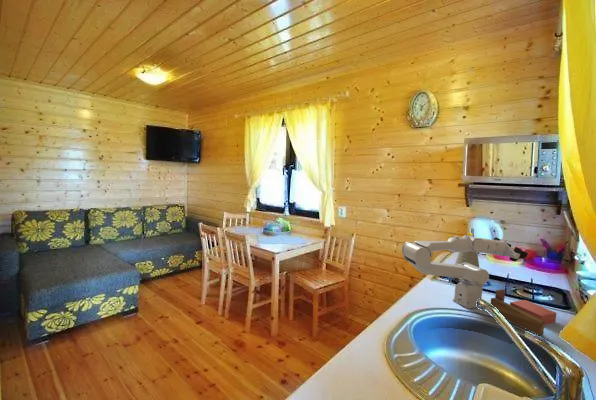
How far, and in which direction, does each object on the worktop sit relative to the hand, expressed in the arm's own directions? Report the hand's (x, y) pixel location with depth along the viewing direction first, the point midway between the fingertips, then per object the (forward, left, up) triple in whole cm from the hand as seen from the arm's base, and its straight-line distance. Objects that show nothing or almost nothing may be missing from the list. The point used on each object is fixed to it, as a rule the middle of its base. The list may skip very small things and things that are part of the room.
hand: (517, 250), depth 124 cm
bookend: (-14, -6, -21) cm, 26 cm away
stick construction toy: (-5, +20, -21) cm, 30 cm away
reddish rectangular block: (-7, -13, -21) cm, 26 cm away
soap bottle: (+12, +35, -21) cm, 42 cm away
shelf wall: (-17, -14, -21) cm, 31 cm away
